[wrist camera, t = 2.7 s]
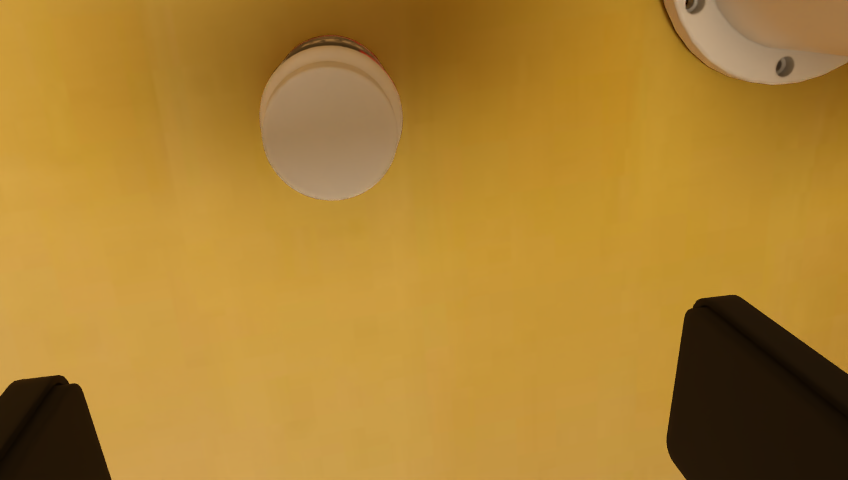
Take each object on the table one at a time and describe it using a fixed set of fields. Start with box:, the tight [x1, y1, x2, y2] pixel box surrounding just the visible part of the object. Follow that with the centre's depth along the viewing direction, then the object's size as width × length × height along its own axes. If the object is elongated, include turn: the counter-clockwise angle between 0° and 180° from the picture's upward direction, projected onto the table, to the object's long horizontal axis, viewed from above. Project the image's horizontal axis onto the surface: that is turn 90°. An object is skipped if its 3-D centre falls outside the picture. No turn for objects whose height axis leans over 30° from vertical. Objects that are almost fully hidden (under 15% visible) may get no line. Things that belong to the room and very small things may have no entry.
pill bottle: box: [259, 35, 403, 200], centre depth 21 cm, size 5×5×8 cm
